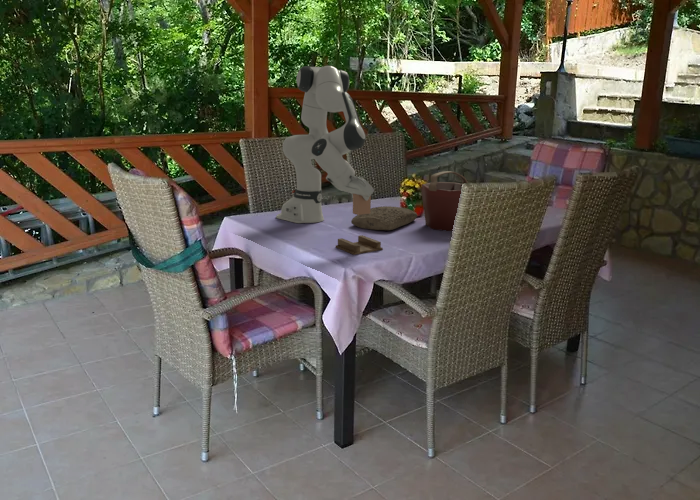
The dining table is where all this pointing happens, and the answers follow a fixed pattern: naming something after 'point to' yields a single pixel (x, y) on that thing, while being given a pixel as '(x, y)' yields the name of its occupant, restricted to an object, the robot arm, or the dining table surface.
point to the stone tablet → (384, 218)
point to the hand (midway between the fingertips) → (363, 198)
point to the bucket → (441, 201)
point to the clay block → (361, 205)
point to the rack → (359, 245)
